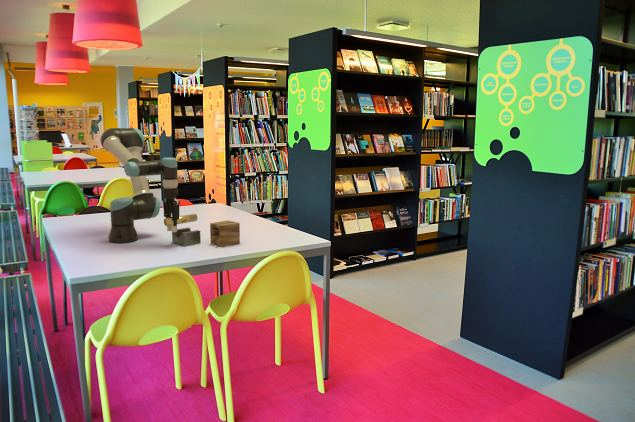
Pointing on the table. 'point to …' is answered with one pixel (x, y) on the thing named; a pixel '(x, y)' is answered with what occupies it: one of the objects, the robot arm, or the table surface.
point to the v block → (186, 237)
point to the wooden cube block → (225, 233)
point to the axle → (181, 219)
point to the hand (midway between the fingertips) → (172, 231)
